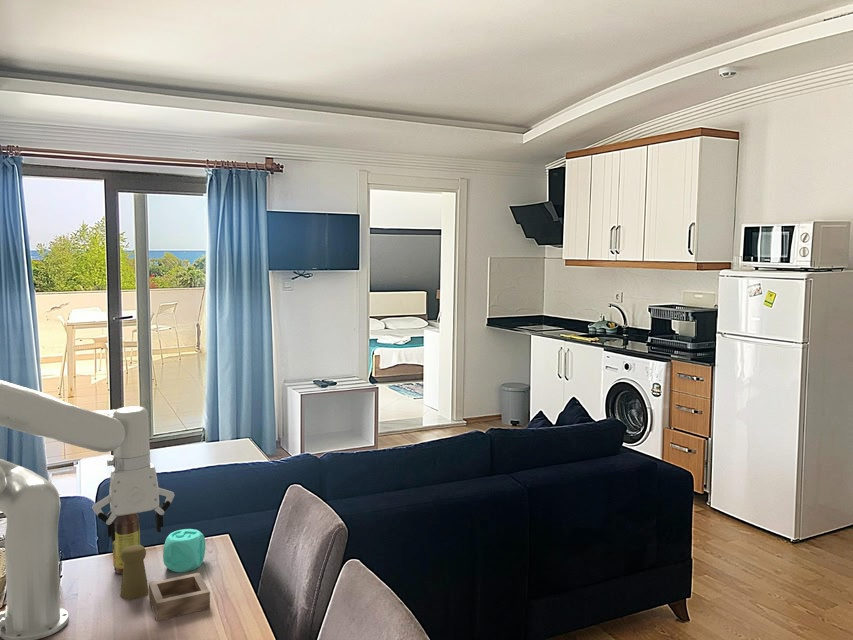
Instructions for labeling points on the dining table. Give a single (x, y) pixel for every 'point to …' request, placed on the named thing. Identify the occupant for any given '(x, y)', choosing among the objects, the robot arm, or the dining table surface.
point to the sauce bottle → (124, 537)
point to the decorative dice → (184, 550)
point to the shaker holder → (179, 596)
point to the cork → (134, 573)
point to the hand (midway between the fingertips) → (136, 534)
